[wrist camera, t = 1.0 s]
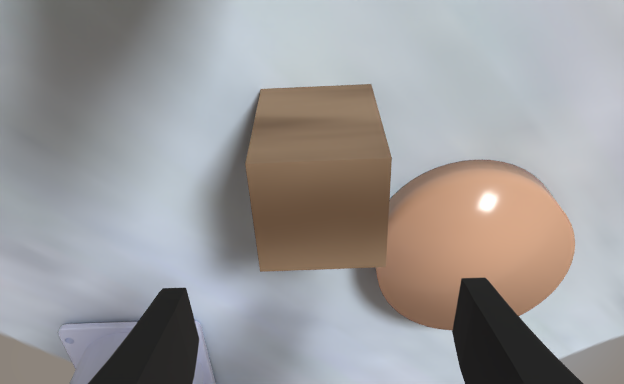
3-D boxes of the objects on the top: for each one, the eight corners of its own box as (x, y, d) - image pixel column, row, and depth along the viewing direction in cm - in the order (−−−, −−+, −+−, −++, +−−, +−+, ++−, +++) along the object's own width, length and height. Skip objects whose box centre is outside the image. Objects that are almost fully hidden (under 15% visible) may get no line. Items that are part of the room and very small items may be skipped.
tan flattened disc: (535, 298, 27) (549, 327, 25) (370, 304, 27) (374, 333, 25) (577, 155, 22) (599, 179, 20) (374, 163, 22) (380, 188, 20)
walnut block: (368, 177, 23) (385, 267, 18) (270, 181, 23) (260, 271, 18) (371, 83, 20) (391, 158, 15) (260, 88, 20) (245, 163, 15)
